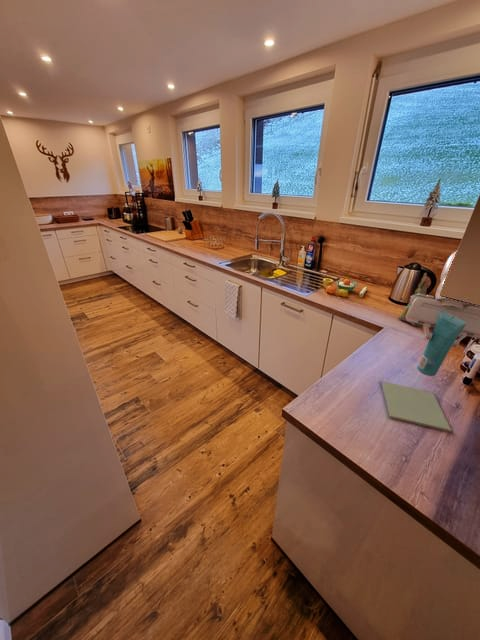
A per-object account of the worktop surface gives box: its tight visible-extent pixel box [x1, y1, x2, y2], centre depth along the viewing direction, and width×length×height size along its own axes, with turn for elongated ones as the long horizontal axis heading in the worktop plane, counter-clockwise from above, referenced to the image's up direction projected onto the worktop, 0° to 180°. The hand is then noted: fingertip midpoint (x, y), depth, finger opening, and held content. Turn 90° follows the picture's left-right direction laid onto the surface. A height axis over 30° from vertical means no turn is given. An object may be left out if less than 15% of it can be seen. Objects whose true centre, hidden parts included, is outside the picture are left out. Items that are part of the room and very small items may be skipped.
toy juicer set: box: [322, 277, 368, 298], centre depth 166 cm, size 29×18×8 cm, turn 79°
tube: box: [416, 310, 467, 377], centre depth 76 cm, size 7×5×19 cm, turn 20°
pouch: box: [399, 272, 429, 327], centre depth 130 cm, size 11×12×25 cm
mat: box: [381, 381, 452, 433], centre depth 84 cm, size 16×16×1 cm
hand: (440, 342), depth 75 cm, fingers closed on tube, 5 cm apart
